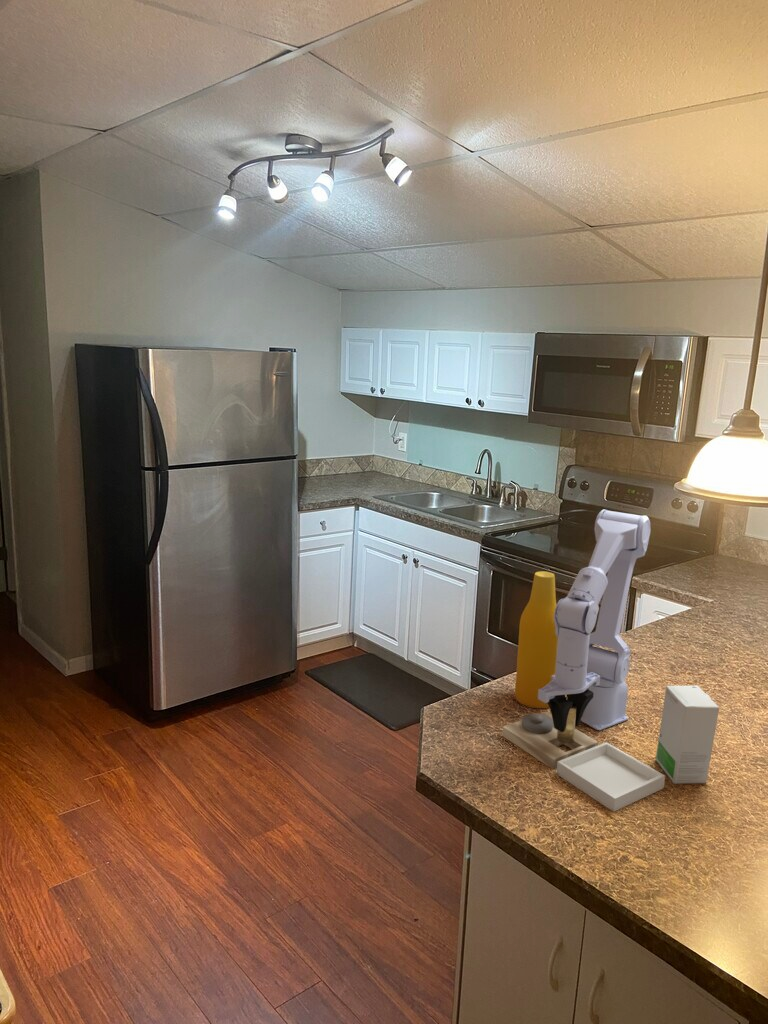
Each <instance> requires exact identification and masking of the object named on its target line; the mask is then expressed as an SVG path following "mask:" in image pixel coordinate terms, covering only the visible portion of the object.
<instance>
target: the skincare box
mask: <svg viewBox="0 0 768 1024" xmlns="http://www.w3.org/2000/svg"><path fill="white" fill-rule="evenodd" d="M664 693H665V695H664V701H663V705H662V706H663V707H662V714H661V720H660V728H659V734H658V741H657V746H656V753H655V761H656V762H657V763H658V764H659V766H660V767H661V769H662V770H663V771H664V773H666V774H665V775H667V776H668V778H669V780H671V782H672V783H673V784H675V785H677V784H684V785H685V784H706V783H707V780H708V776H709V775H708V774H709V770H710V763H711V757H712V753H713V746H714V739H715V734H716V728H717V723H718V719H719V718H718V717H719V711H720V706H719V705H718V704H716V703H715V701H714V700H713V699H712V698H711V695H709V694H707V693H706V692H705V691H703V690H702V688H701V687H700V686H699V685H666V686H665V692H664Z"/></svg>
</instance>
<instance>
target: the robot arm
mask: <svg viewBox="0 0 768 1024" xmlns="http://www.w3.org/2000/svg"><path fill="white" fill-rule="evenodd" d="M651 530H652V529H651V520H650V519H649V517H648V515H640V514H639V515H638V514H634V513H626V512H619V511H612V510H608V509H602V510H600V511H599V512H598V514H597V515H596V519H595V521H594V536H595V541H596V543H595V547H594V549H593V551H592V555H591V558H590V560H589V563H588V566H586V567H583V568H581V569H580V570H579V571H578V573H577V575H576V577H575V579H574V581H573V583H572V586H571V588H570V589H569V591H568V593H567V595H566V597H564V598H561V599H559V600H558V602H556V604H557V606H556V609H555V614H554V624H555V627H556V631H555V634H556V636H558V642H557V655H556V668H555V675H552V681H551V682H550V683H548V684H547V685H546V686H545V687H543V688H541V689H539V690H538V699H539V700H541V701H542V702H544V703H548V705H549V707H548V708H549V710H550V714H551V715H552V718H553V723H554V728H555V729H557V730H559V731H560V732H564V731H565V728H566V723H567V717H568V713H569V710H570V708H571V706H572V704H575V705H576V706H577V710H576V722H575V728H578V727H579V725H580V723H581V722H582V723H583V724H585V725H588V726H589V727H591V728H592V729H594V730H597V731H602V730H604V729H607V728H609V727H613V726H615V725H617V724H620V723H623V722H626V721H628V720H629V716H627V713H626V712H627V705H628V703H627V702H628V695H629V690H628V689H629V688H628V684H627V682H626V681H625V680H626V679H627V677H628V674H629V669H630V656H631V649H630V647H629V645H628V644H627V643H626V642H625V641H624V640H623V638H622V636H621V635H620V633H621V629H622V624H623V619H624V614H625V609H626V603H627V601H628V595H629V590H630V587H631V581H632V576H633V572H634V567H635V564H636V561H637V559H640V558H642V557H645V555H646V552H647V551H648V550H647V549H648V545H649V542H650V541H649V540H650V536H651ZM600 603H601V604H600ZM599 604H600V607H599ZM594 628H595V631H593V630H594ZM592 631H593V632H592ZM595 645H596V646H595ZM597 646H599V647H597ZM601 647H603V648H601ZM605 648H606V649H605ZM607 648H608V649H607ZM609 649H611V650H609ZM613 650H614V651H613Z"/></svg>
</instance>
